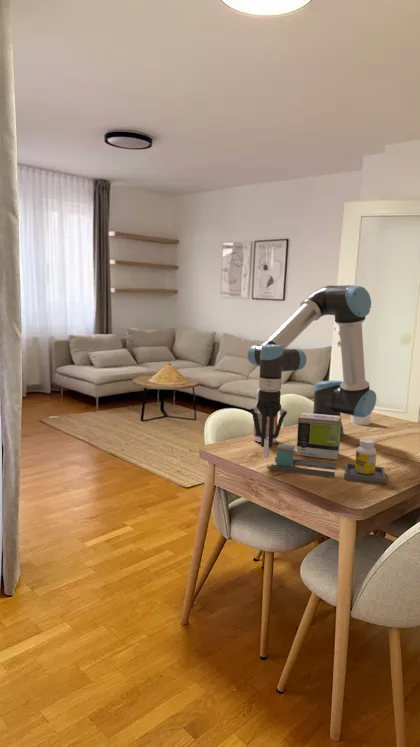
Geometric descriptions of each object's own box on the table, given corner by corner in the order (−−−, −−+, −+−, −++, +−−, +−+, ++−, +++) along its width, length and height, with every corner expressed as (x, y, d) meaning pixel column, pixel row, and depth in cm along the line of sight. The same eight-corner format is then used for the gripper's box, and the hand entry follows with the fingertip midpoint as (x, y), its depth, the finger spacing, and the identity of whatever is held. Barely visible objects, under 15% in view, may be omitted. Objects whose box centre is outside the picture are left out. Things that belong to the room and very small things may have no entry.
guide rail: (275, 460, 180) (275, 456, 180) (335, 467, 175) (335, 463, 175) (270, 469, 171) (271, 465, 171) (334, 477, 165) (334, 473, 165)
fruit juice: (248, 438, 207) (252, 371, 203) (268, 436, 212) (271, 371, 207) (261, 445, 199) (264, 375, 195) (280, 442, 203) (284, 374, 199)
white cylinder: (351, 424, 239) (353, 399, 237) (349, 419, 248) (351, 395, 246) (371, 425, 238) (373, 400, 236) (368, 421, 246) (370, 397, 245)
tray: (345, 468, 175) (345, 462, 174) (383, 472, 171) (383, 467, 171) (344, 479, 164) (344, 473, 163) (385, 484, 160) (385, 478, 160)
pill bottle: (351, 471, 170) (354, 437, 169) (369, 471, 171) (372, 437, 169) (358, 477, 164) (361, 443, 162) (377, 477, 164) (380, 443, 163)
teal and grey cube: (278, 461, 178) (279, 443, 177) (293, 463, 177) (294, 445, 176) (275, 467, 172) (276, 448, 171) (291, 469, 171) (292, 450, 170)
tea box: (339, 453, 192) (342, 415, 190) (337, 460, 183) (340, 421, 181) (299, 448, 197) (302, 411, 195) (295, 455, 188) (298, 416, 185)
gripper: (248, 390, 171) (245, 457, 174) (287, 393, 167) (283, 461, 171) (253, 386, 178) (250, 451, 181) (290, 389, 174) (286, 455, 178)
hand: (266, 456), depth 176 cm, fingers closed
